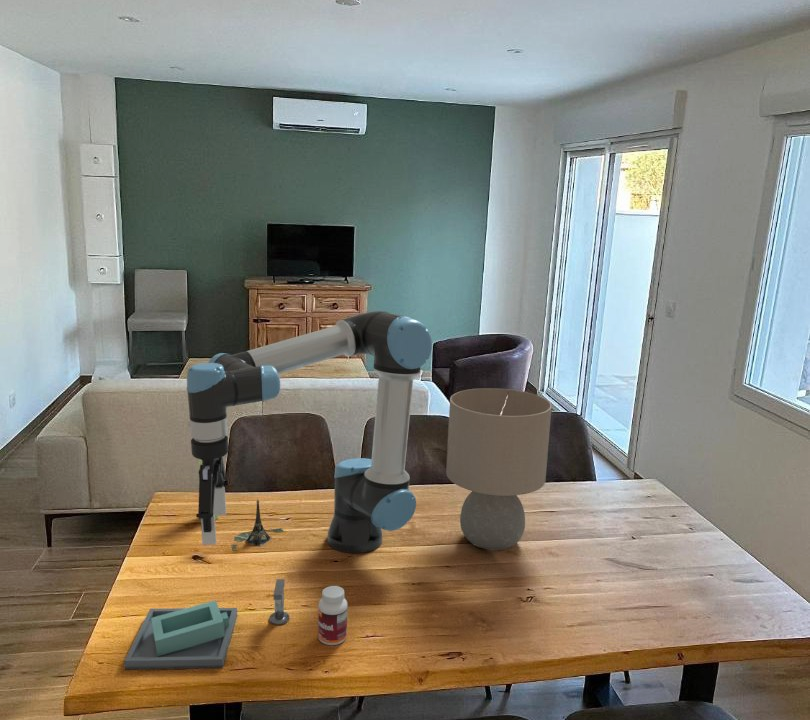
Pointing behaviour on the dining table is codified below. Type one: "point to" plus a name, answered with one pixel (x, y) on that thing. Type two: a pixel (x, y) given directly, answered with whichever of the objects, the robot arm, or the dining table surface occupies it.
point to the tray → (187, 658)
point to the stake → (279, 604)
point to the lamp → (497, 460)
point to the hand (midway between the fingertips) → (214, 528)
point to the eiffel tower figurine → (255, 533)
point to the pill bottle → (332, 616)
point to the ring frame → (188, 627)
